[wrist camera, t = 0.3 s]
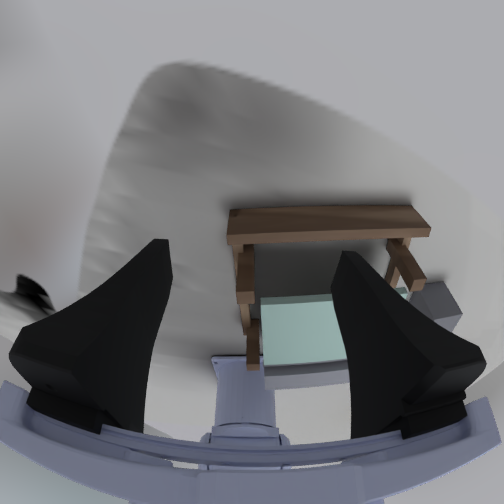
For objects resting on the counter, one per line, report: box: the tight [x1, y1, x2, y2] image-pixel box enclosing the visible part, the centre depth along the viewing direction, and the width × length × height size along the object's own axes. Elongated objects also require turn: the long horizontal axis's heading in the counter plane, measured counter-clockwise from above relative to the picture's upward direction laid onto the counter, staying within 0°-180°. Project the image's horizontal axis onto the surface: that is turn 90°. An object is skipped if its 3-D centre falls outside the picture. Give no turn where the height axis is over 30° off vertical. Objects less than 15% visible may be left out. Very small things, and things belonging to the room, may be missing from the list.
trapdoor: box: [260, 287, 408, 390], centre depth 23 cm, size 12×11×4 cm
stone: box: [409, 282, 463, 332], centre depth 25 cm, size 4×4×5 cm
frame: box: [227, 205, 431, 371], centre depth 23 cm, size 14×15×6 cm
